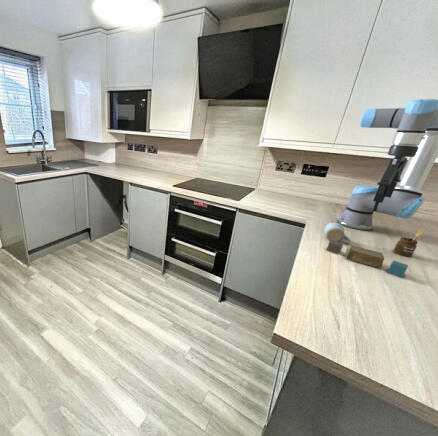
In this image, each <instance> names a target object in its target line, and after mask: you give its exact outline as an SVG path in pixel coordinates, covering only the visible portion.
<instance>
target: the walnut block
mask: <svg viewBox="0 0 438 436" xmlns="http://www.w3.org/2000/svg"><path fill="white" fill-rule="evenodd" d="M343 246H344V242H340V241H334V240H332V241H330V240H329V242H328V245H327V248H326V251H327V252H331V253H333V254H339V253H341V252H342V249H343Z"/></svg>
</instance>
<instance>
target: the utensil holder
mask: <svg viewBox="0 0 438 436" xmlns="http://www.w3.org/2000/svg"><path fill="white" fill-rule="evenodd" d="M424 231H425V230H424V229H421V228H420V229H419V230H418V231H417V232H416V233H415V237H414V238H412V237H408V235H406V236H405V234H406V232H403V234H402V235H403V236H402V237H400V238H399V240H398V241H397V242H396V244H395V246H394V248H393V252H394V253H395V254H397V255H399V256H403V257H412V256H413V255H414V253H415V251H416V249H417V245H418V240H416V239H417V238H419V237H421V235H422V234H423V232H424ZM409 234H410V235H412V232H411V231H409Z"/></svg>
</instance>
